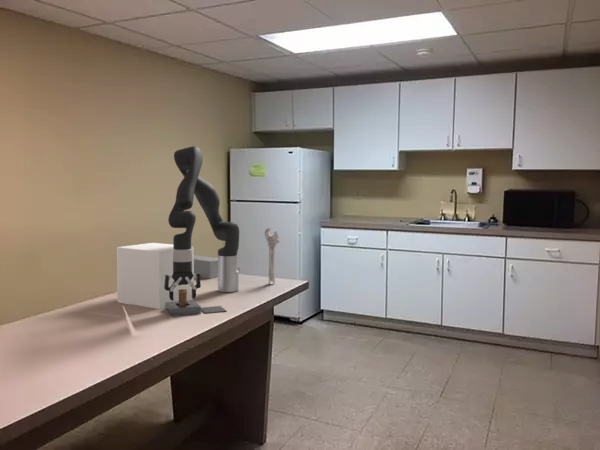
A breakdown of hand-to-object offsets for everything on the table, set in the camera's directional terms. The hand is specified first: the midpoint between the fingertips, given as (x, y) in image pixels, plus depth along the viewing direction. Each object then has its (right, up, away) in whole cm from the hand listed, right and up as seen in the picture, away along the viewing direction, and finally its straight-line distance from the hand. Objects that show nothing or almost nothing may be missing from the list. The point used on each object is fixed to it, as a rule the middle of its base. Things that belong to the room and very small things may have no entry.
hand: (182, 299), depth 213 cm
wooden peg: (0, -5, 0) cm, 5 cm away
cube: (-16, -4, +20) cm, 26 cm away
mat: (+12, -5, +4) cm, 13 cm away
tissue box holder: (-3, +1, +82) cm, 82 cm away
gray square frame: (0, -5, 0) cm, 5 cm away
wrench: (+33, -1, +55) cm, 64 cm away
